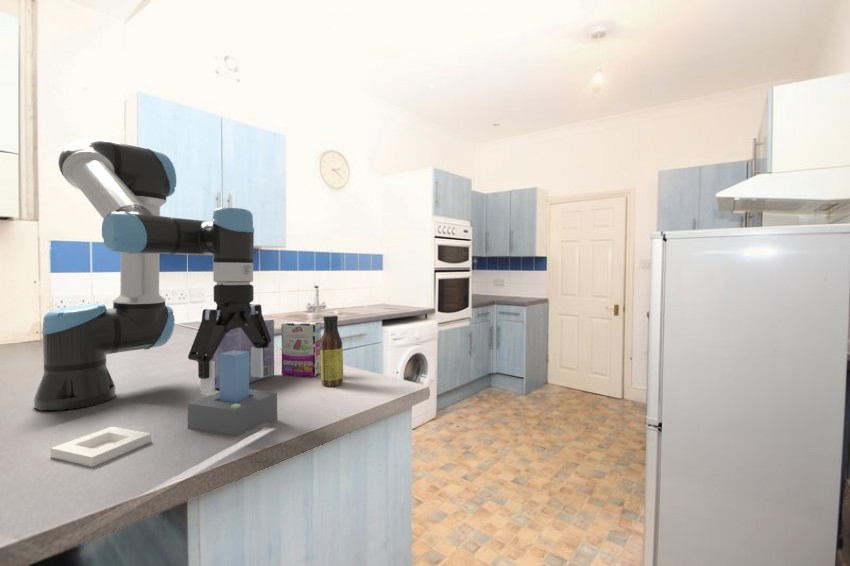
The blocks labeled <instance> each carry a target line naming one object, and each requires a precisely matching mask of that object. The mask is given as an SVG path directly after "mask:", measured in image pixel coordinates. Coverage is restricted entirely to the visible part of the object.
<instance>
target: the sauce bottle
mask: <svg viewBox="0 0 850 566" xmlns="http://www.w3.org/2000/svg"><path fill="white" fill-rule="evenodd" d="M322 319H323V322H324V323H323V324H324V326H323V328H324V329H323V333H322V335H321V349H320V353H321V373H320V380H321V385H322V386H324V387H329V386H330V387H337V385H338V386H340V385H342V384H343V381H344V355H343V354H344V353H343V341H342V338H341V336H340V335H341V334H340V331H339V330H338V329H339V328H338V320H339V316H338V315H337V314H325V315H323V318H322Z"/></svg>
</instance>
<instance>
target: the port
mask: <svg viewBox="0 0 850 566" xmlns="http://www.w3.org/2000/svg"><path fill="white" fill-rule="evenodd" d="M277 420H278V392H275V391H269V390H268V391H267V390H261V389H251V388H249V398H247V399H245V400H242V401H240V402H237V403H228V402H221V401H219V391H218V392H215V395H207V396H204V397H202V398H199V399H196V400H192V401H191V402H188V403H187V429H189V430H196V431H202V432H207V433H213V434H219V435H223V436H224V435H225V436H230V437H239V436H240V435H242V434H244V433H246V432H248V431H250V430H252V429H254V428H255V427H258V426H259V425H261V424H263V423H269V424H270V423H273V422H275V421H277Z"/></svg>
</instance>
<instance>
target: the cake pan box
mask: <svg viewBox="0 0 850 566" xmlns="http://www.w3.org/2000/svg"><path fill="white" fill-rule="evenodd" d="M264 321H265V324H266V327H267V329H268V332H269V335H270V338H271V342H270V343H269V346H268V347H267V348H266V347H264V361H263V377H261V378H260V377H251V348H252V347H255V346H254V345H253V344H252V342H251V341H250V340H249V338H248V337H247V335H246V334H245V333H244V331H243V330H242V328H236V329H231V330H230V331H229V332H228V333H226V335H225V336H224V338H223V340H222V342H221V343H220V345H219V347H218V349H217V350H216V352H215V354H214V355H213V357H212V359H211V361H215V390H216V389H217V390H219V354H221V353H225V352H229V351H233V350H236V351H247V352H249V384H250V383H253V382H256V381H259V380H264V379H266V378H271V377H274V376H275V320H274V319H264ZM221 326H222V325H221ZM263 337H264V336H263ZM264 338H265V337H264Z"/></svg>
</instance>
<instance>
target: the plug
mask: <svg viewBox="0 0 850 566" xmlns="http://www.w3.org/2000/svg"><path fill="white" fill-rule="evenodd" d="M249 389H250V383H249V352H247V351H236V350H233V351H229V352H225V353H221V354H219V389H218V390H219V391H218V392H219V401H221V402H228V403H237V402H240V401H242V400H245V399H247V398H249Z"/></svg>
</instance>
